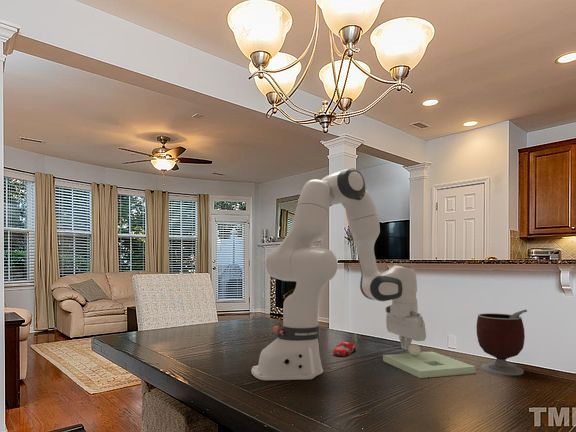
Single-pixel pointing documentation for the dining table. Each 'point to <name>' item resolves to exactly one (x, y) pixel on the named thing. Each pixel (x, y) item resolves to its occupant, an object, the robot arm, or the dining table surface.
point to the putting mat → (428, 364)
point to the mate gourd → (501, 340)
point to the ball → (414, 349)
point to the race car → (344, 349)
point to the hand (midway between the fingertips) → (405, 349)
